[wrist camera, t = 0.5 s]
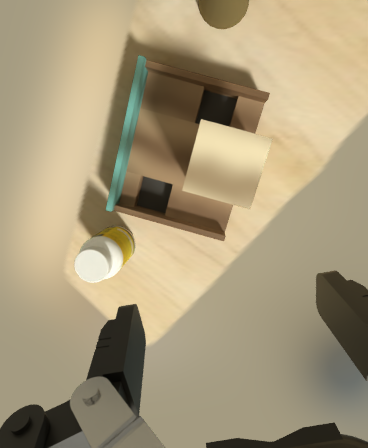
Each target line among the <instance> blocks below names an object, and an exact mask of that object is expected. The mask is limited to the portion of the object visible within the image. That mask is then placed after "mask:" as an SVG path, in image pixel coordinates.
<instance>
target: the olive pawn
mask: <svg viewBox="0 0 368 448" xmlns="http://www.w3.org/2000/svg"><path fill="white" fill-rule="evenodd" d="M198 5H199V10H200V14H201V15H202V17H203V19H204V21H206V22H207V23H208V24H209V25H210V26H212V27H215V28H217V29H227V28H230V27H233V26H234V25H236V24H237V23H239V22H240V21H241V19H242V18H243V17H244V16H245V14H246V11H247V9H248V5H249V0H199V4H198Z"/></svg>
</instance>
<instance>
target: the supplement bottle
mask: <svg viewBox="0 0 368 448" xmlns="http://www.w3.org/2000/svg"><path fill="white" fill-rule="evenodd" d="M134 251H135V239H134V237H133V235H132V234H131V232H130V231H129V230H127V229H126V228H124V227H121V226H111V227H108V228H106V229H105V230H103V231H101V232H100V233H98V234H97V235H95V236H94V237H92V238H90V239H89V240H87V241H86V242H85V243H84V244H83V246H82V247H81V249H80V253H79V254H78V255H77V257H76V259H75V263H74V266H75V270H76V272H77V274H78V276H79V277H80V278H82V279H83V280H85V281H87V282H91V283H95V282H99V281H101V280H103V279H108V278H110V277H112V276H114V275H115V274H116V273H117V272H118V271H119V270H120V269H121V268H122V267H123V265H124V264H125V263H126V262H127V261H128V260H129V258H130V257H131V256H132V255H133V253H134Z"/></svg>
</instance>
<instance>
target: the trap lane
mask: <svg viewBox="0 0 368 448" xmlns="http://www.w3.org/2000/svg"><path fill="white" fill-rule="evenodd" d="M269 94H270V93H267V92H264V91H260V90H256V89H253V88H249V87H245V86H241V85H238V84H234V83H230V82H227V81H223V80H219V79H215V78H212V77H208V76H204V75H201V74H197V73H193V72H189V71H186V70H182V69H178V68H175V67H171V66H167V65H164V64H160V63H156V62H152V61H149V60H146V58H145V57H143V56H140V55H138V60H137V65H136V69H135V74H134V79H133V84H132V88H131V93H130V98H129V102H128V107H127V112H126V117H125V121H124V126H123V131H122V135H121V140H120V145H119V150H118V154H117V159H116V164H115V169H114V173H113V178H112V183H111V187H110V192H109V197H108V202H107V206H106V210H107V211H110V212H112V211H113V210H114V211H117V212H121V213H125V214H128V215H132V216H135V217H139V218H142V219H146V220H150V221H153V222H157V223H160V224H164V225H167V226H171V227H175V228H178V229H182V230H185V231H189V232H192V233H196V234H200V235H203V236H207V237H210V238H214V239H218V240H221V241H224V239H225V229H226V226H227V223H228V220H229V216H230V213H231V210H232V207H233V205H232V204H229V203H225V202H221V201H218V200H214V199H210V198H207V197H203V196H200V195H196V194H192V193H189V192H185V191H182V189H183V185H184V181H185V178H186V174H187V170H188V166H189V163H190V159H191V155H192V151H193V148H194V144H195V140H196V136H197V133H198V129H199V125H200V121H201V119H203V120H206V121H210V122H214V123H218V124H221V125H225V126H229V127H232V128H236V129H240V130H243V131H247V132H251V133H254V134H255V132H256V129H257V126H258V122H259V119H260V116H261V113H262V109H263V106H264V103H265V102H266V101H267V100H268V97H269Z"/></svg>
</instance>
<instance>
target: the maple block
mask: <svg viewBox="0 0 368 448" xmlns="http://www.w3.org/2000/svg"><path fill="white" fill-rule="evenodd" d="M272 140H273V138H269V137H265V136H262V135H258V134H254V133H251V132H247V131H243V130H240V129H236V128H232V127H229V126H225V125H221V124H218V123H214V122H210V121H206V120H203V119H201V121H200V125H199V129H198V133H197V136H196V140H195V144H194V148H193V151H192V155H191V159H190V163H189V166H188V170H187V174H186V178H185V181H184V185H183V189H182V191H185V192H189V193H192V194H196V195H200V196H203V197H207V198H210V199H214V200H218V201H221V202H225V203H229V204H232V205H236V206H239V207H243V208H247V209H250V208H251V205H252V202H253V199H254V196H255V193H256V189H257V186H258V183H259V180H260V177H261V174H262V171H263V168H264V165H265V162H266V158H267V155H268V152H269V149H270V146H271V143H272Z"/></svg>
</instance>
